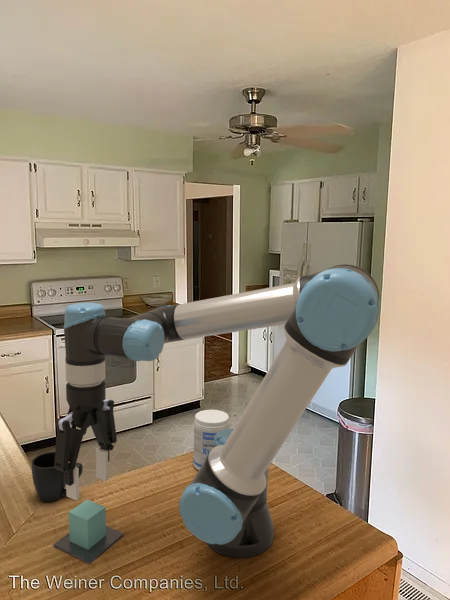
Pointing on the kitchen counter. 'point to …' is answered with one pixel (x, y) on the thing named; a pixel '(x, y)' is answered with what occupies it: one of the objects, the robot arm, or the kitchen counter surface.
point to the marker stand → (95, 550)
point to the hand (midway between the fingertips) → (88, 487)
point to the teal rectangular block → (87, 524)
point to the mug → (49, 477)
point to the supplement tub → (207, 433)
